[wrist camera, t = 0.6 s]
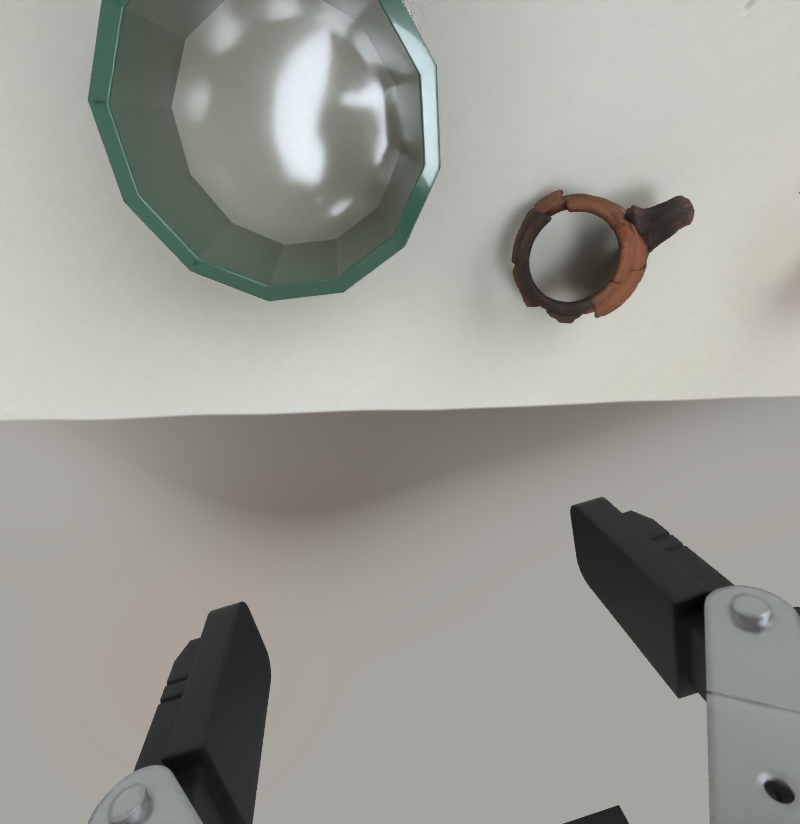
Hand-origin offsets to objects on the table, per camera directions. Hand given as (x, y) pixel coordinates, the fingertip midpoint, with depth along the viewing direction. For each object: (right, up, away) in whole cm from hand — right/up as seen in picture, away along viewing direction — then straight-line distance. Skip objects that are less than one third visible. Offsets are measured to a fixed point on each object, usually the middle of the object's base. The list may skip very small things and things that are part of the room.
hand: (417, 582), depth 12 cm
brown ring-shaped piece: (+13, +17, +26) cm, 34 cm away
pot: (-10, +25, +16) cm, 31 cm away
